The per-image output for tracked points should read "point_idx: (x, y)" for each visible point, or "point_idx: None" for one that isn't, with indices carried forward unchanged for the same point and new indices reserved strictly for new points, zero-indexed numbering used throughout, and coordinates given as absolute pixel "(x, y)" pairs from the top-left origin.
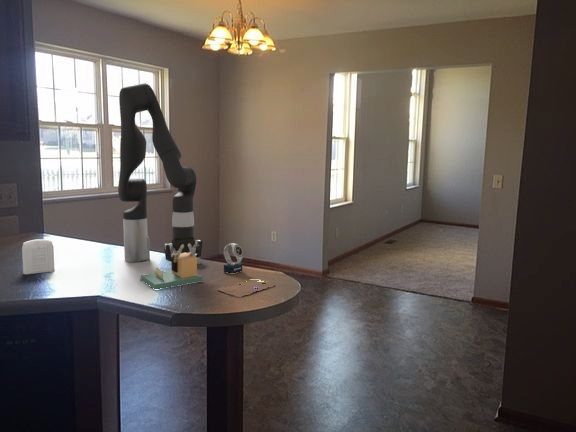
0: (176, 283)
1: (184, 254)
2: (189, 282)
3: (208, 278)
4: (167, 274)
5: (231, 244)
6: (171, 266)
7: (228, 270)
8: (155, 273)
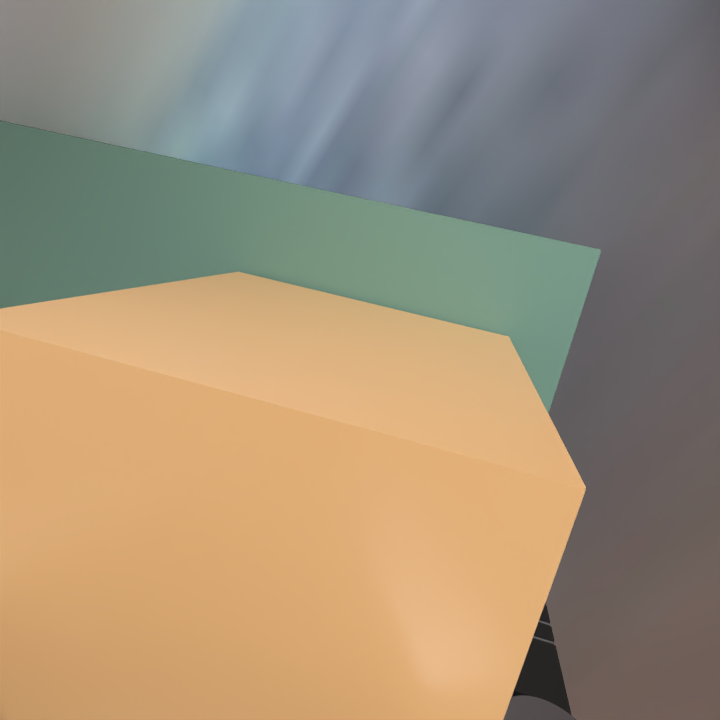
0: None
1: (309, 689)
2: None
3: (611, 664)
4: None
5: None
6: (191, 280)
7: None
8: (17, 145)
